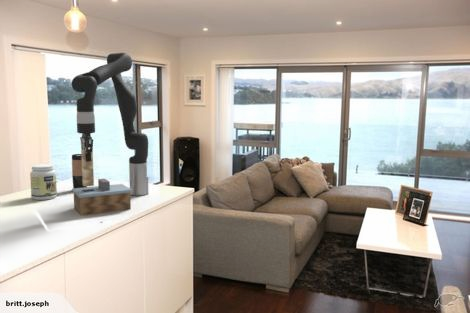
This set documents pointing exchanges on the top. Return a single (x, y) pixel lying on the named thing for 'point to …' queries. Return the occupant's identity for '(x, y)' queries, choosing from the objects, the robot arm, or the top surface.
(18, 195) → the top surface
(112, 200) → the wooden box
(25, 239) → the top surface
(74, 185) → the travel mug
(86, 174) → the beech key
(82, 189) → the lid
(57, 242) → the top surface
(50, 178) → the supplement tub
